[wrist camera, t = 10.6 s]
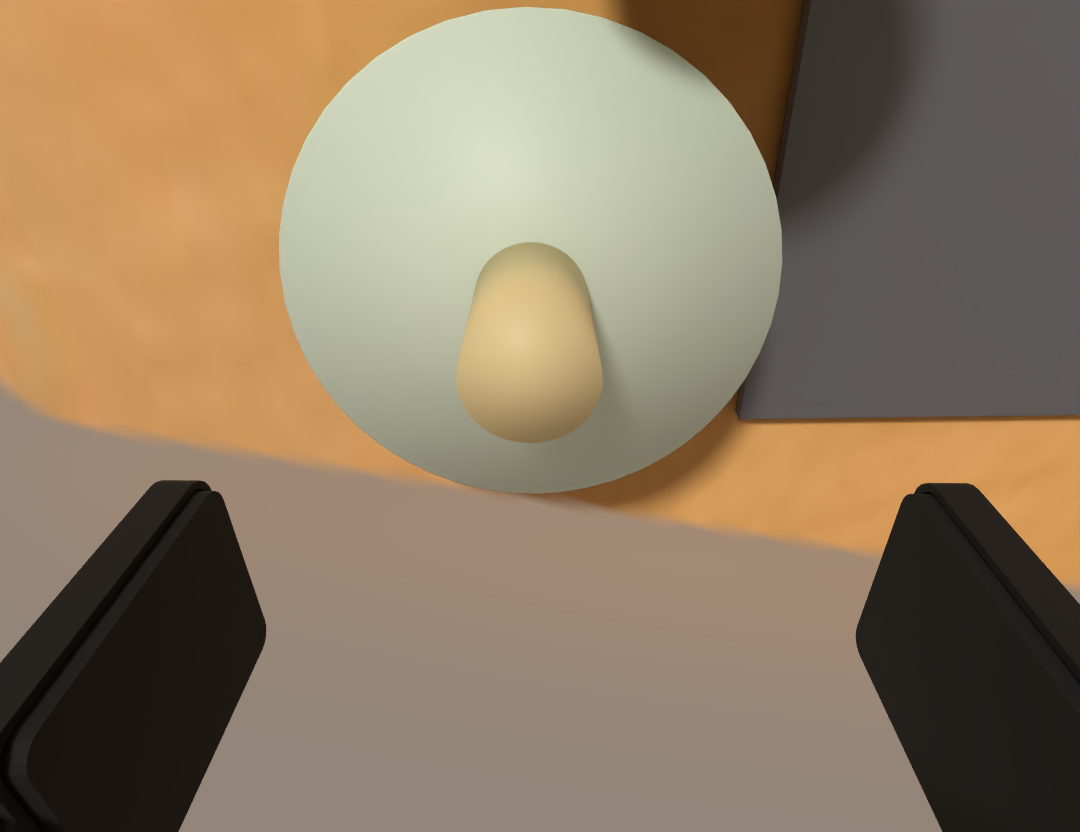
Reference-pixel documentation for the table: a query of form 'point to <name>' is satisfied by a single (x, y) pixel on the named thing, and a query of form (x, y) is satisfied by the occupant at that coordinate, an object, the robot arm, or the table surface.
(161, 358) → the table surface
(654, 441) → the lid
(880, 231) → the mat
